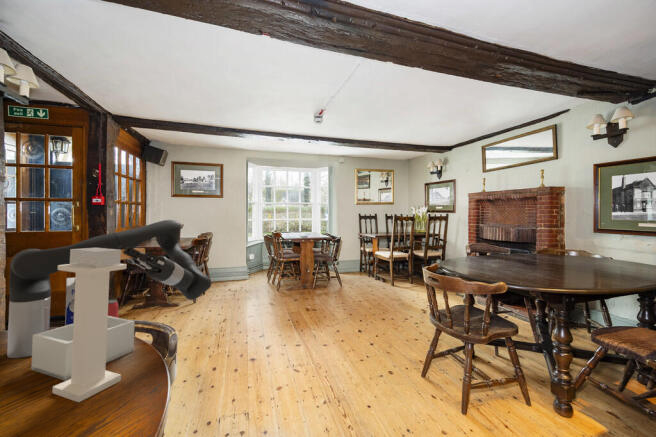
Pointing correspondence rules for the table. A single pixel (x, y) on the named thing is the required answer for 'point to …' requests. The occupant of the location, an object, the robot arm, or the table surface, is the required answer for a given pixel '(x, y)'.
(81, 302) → the stand
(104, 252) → the metal head mallet
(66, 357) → the box
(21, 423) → the table surface
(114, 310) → the beer can
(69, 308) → the milk carton
